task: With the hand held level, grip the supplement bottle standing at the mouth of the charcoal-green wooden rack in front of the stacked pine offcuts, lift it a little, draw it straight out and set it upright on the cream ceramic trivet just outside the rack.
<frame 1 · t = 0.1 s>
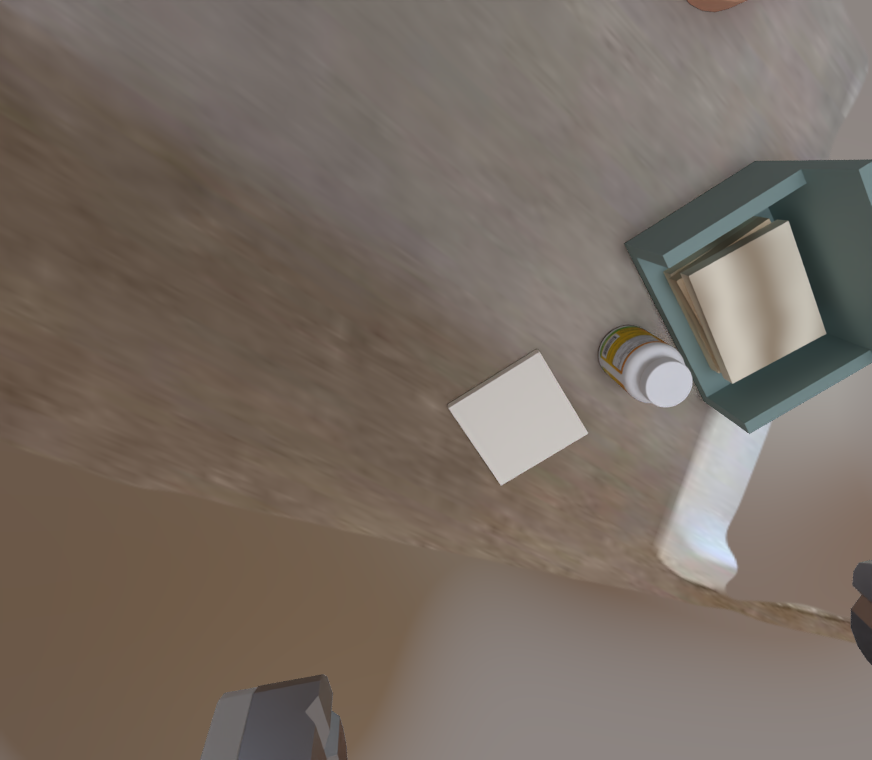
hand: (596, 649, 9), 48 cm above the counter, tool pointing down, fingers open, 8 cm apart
supplement bottle: (623, 350, 60), on the counter
trivet: (517, 417, 61), on the counter
birch offcut top: (749, 302, 54), point 4 cm above the counter, touching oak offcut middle
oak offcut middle: (739, 298, 56), point 3 cm above the counter, touching birch offcut top, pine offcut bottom
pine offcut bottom: (730, 295, 57), point 1 cm above the counter, touching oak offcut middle, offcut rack
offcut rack: (722, 292, 58), on the counter
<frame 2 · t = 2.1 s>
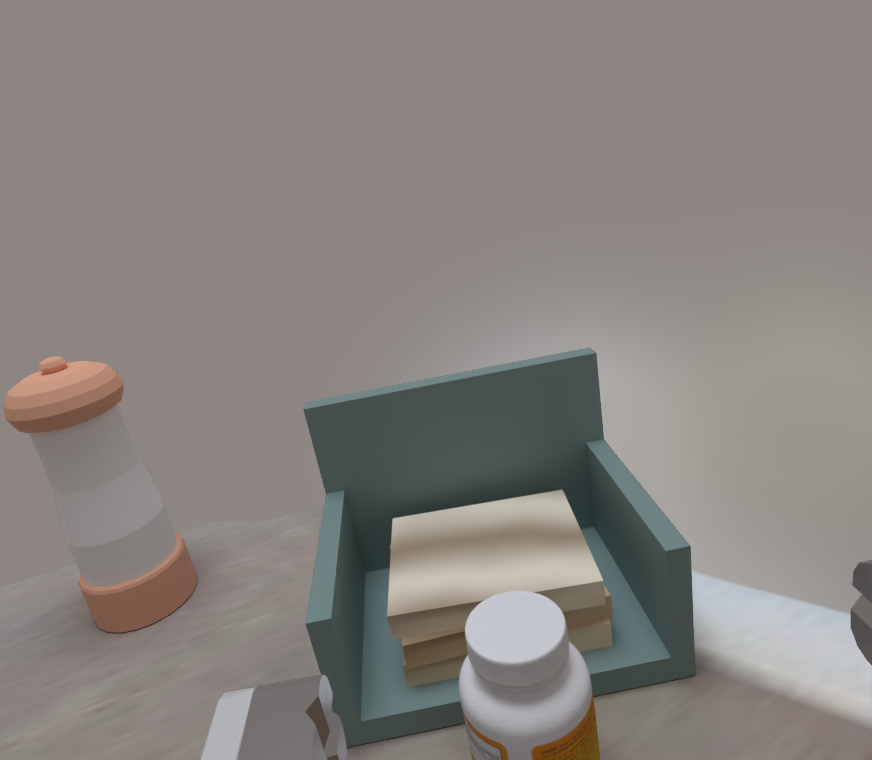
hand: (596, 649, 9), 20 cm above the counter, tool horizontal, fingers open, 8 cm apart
pepper shaker: (148, 599, 47), on the counter
birch offcut top: (488, 567, 36), point 4 cm above the counter, touching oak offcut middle
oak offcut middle: (492, 588, 36), point 3 cm above the counter, touching birch offcut top, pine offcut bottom
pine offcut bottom: (495, 608, 37), point 1 cm above the counter, touching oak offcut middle, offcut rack
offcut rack: (499, 628, 37), on the counter
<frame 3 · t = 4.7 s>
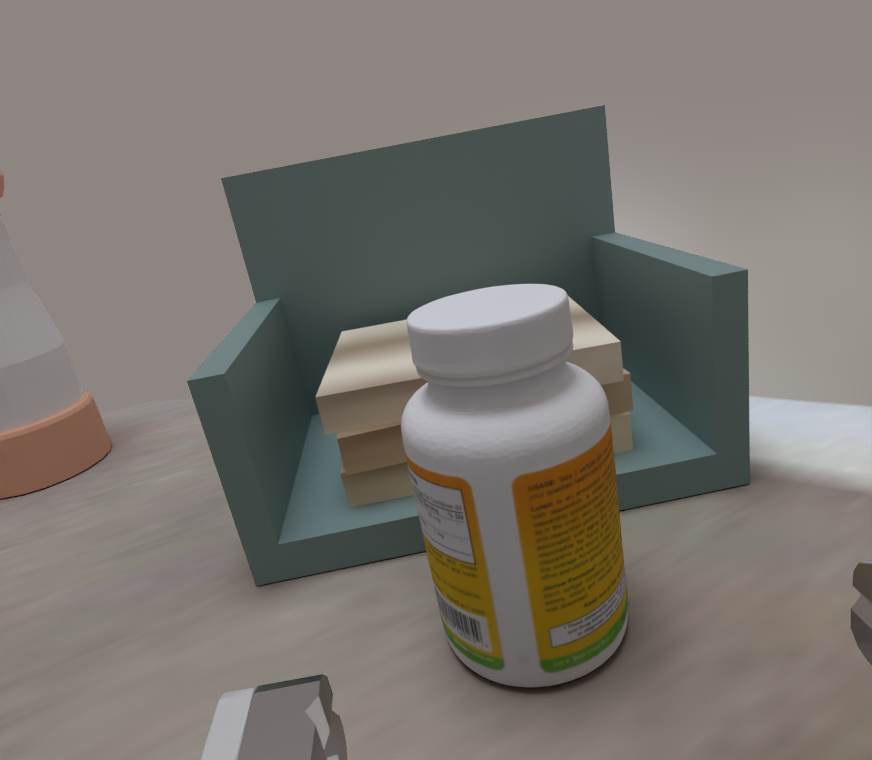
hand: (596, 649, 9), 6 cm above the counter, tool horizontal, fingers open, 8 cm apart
supplement bottle: (535, 625, 18), on the counter
pepper shaker: (48, 469, 38), on the counter
birch offcut top: (463, 368, 27), point 4 cm above the counter, touching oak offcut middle
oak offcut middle: (469, 400, 27), point 3 cm above the counter, touching birch offcut top, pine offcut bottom
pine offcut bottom: (474, 431, 28), point 1 cm above the counter, touching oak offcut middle, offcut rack
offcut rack: (479, 460, 28), on the counter
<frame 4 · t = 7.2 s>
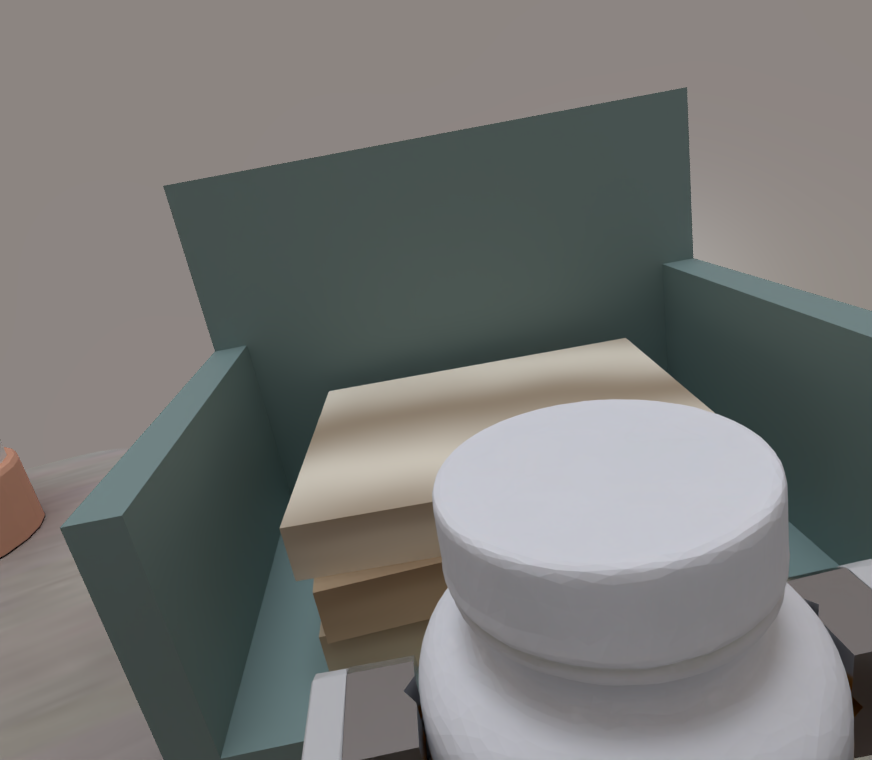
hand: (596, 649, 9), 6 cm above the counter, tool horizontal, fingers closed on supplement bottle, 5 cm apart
birch offcut top: (498, 456, 19), point 4 cm above the counter, touching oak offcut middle
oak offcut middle: (504, 498, 19), point 3 cm above the counter, touching birch offcut top, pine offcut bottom
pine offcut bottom: (511, 539, 20), point 1 cm above the counter, touching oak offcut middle, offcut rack
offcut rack: (517, 577, 20), on the counter
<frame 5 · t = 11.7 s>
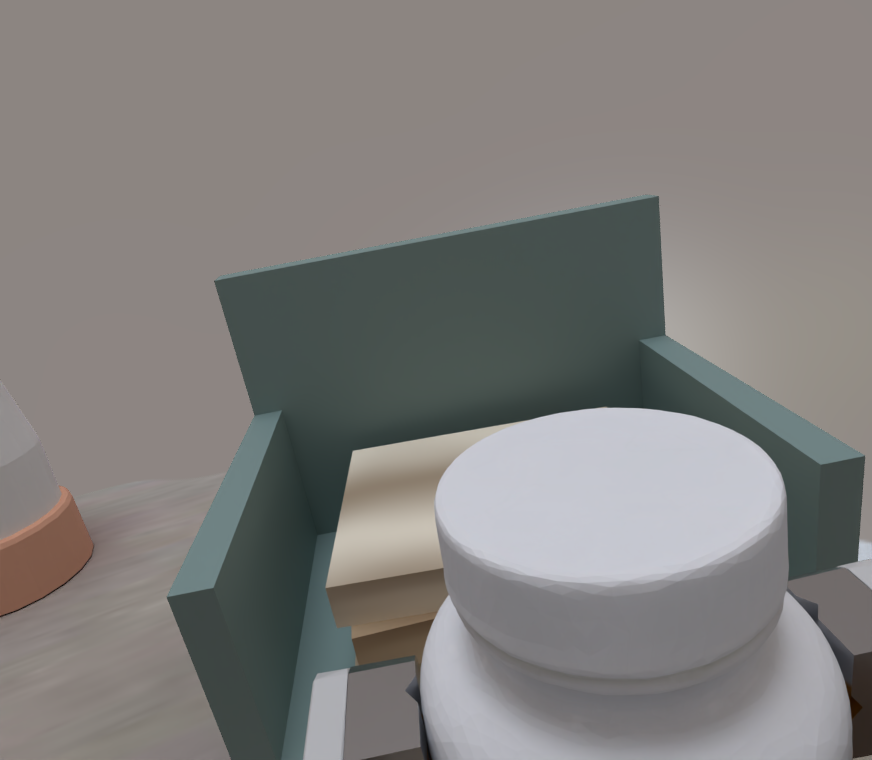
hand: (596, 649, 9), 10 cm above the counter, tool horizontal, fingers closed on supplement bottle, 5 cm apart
pepper shaker: (22, 578, 34), on the counter
birch offcut top: (497, 516, 23), point 4 cm above the counter, touching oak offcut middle
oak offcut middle: (503, 549, 23), point 3 cm above the counter, touching birch offcut top, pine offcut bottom
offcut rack: (513, 613, 24), on the counter
when the fingers open (8 cm above the counter, at t = 16.2 s): supplement bottle stays where it is, resting on trivet.
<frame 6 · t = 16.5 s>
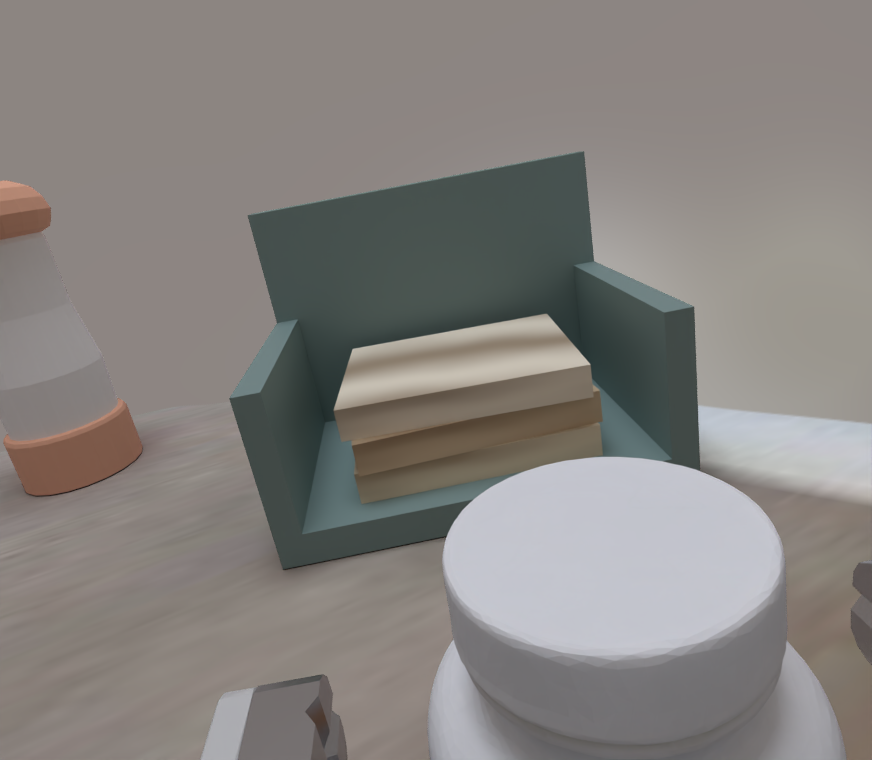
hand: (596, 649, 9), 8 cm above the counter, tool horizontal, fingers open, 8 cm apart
pepper shaker: (86, 469, 42), on the counter
birch offcut top: (459, 383, 31), point 4 cm above the counter, touching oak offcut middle
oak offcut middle: (464, 411, 31), point 3 cm above the counter, touching birch offcut top, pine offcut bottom
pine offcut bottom: (468, 437, 32), point 1 cm above the counter, touching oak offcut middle, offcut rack
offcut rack: (473, 463, 32), on the counter
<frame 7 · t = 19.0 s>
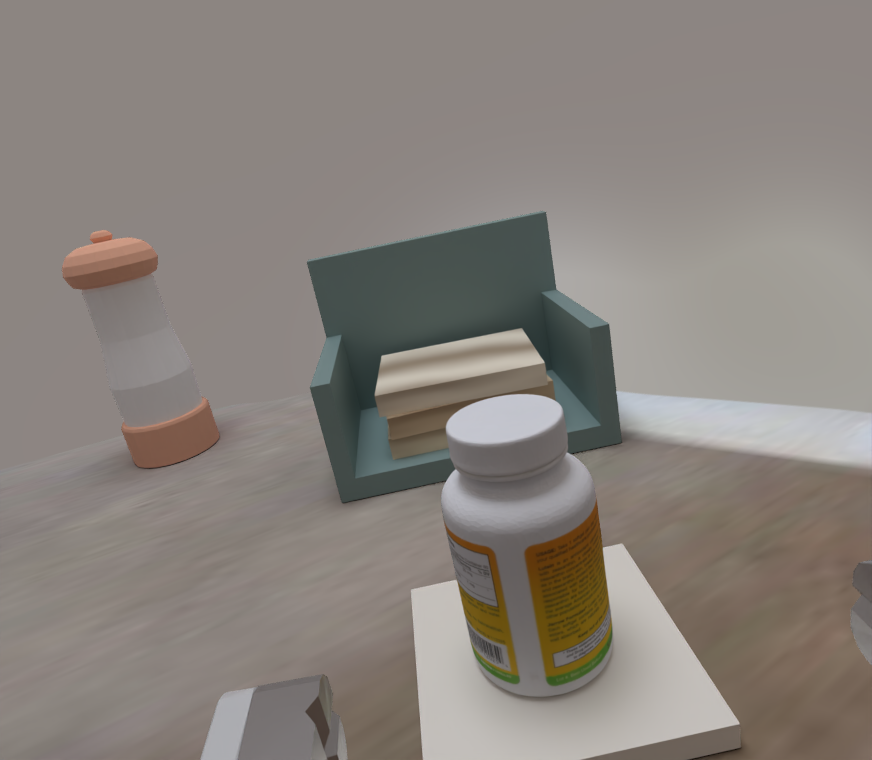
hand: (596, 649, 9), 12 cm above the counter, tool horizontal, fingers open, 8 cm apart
supplement bottle: (543, 648, 24), point 1 cm above the counter, touching trivet
trivet: (547, 663, 24), on the counter
pepper shaker: (178, 450, 55), on the counter
birch offcut top: (458, 378, 44), point 4 cm above the counter, touching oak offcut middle
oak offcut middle: (462, 398, 45), point 3 cm above the counter, touching birch offcut top, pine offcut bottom
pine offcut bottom: (466, 417, 45), point 1 cm above the counter, touching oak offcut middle, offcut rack
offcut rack: (469, 435, 46), on the counter
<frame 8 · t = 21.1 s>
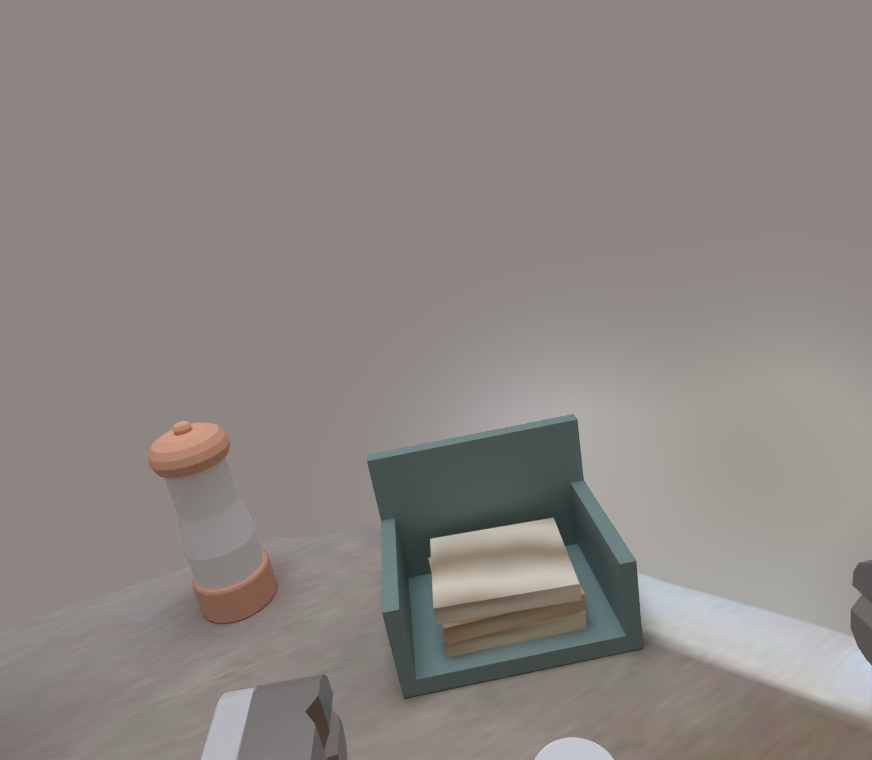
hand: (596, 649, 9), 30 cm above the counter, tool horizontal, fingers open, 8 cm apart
pepper shaker: (241, 598, 62), on the counter
birch offcut top: (500, 574, 51), point 4 cm above the counter, touching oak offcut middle
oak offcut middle: (503, 589, 51), point 3 cm above the counter, touching birch offcut top, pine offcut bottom
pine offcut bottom: (505, 603, 52), point 1 cm above the counter, touching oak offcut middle, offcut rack
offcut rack: (508, 618, 52), on the counter
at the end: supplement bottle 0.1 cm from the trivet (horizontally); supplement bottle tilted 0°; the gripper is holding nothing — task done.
